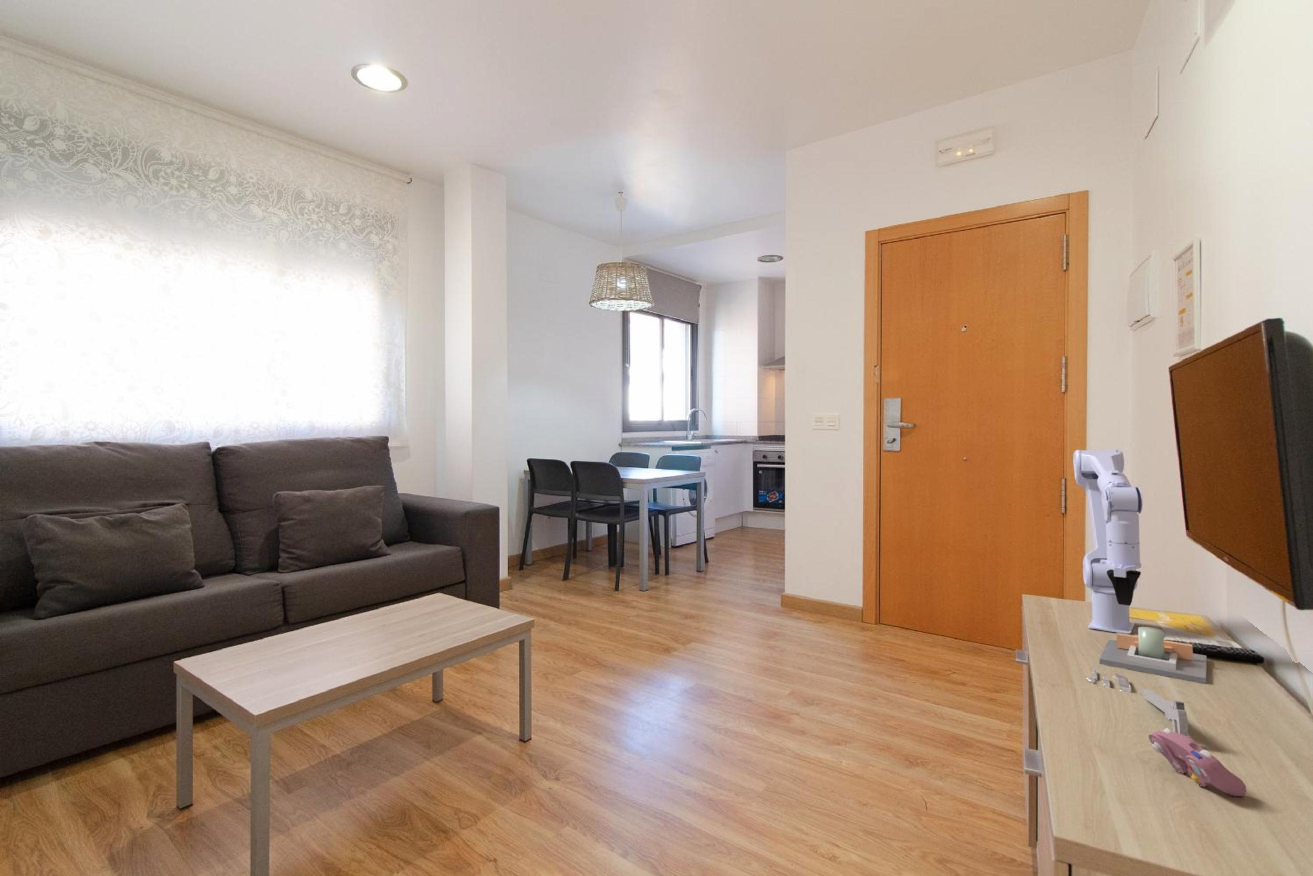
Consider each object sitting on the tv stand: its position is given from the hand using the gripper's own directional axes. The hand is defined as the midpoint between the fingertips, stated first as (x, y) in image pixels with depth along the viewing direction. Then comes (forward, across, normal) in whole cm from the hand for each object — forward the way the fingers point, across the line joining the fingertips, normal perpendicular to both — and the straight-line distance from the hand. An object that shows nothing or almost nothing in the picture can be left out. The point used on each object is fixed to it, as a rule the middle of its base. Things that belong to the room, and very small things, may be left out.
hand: (1124, 604), depth 131 cm
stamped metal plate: (+10, +24, -1) cm, 26 cm away
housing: (+9, +7, +5) cm, 13 cm away
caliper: (+10, +36, +8) cm, 38 cm away
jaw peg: (+8, +9, +5) cm, 13 cm away
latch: (+8, +5, +5) cm, 11 cm away
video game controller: (+10, +56, +12) cm, 58 cm away
